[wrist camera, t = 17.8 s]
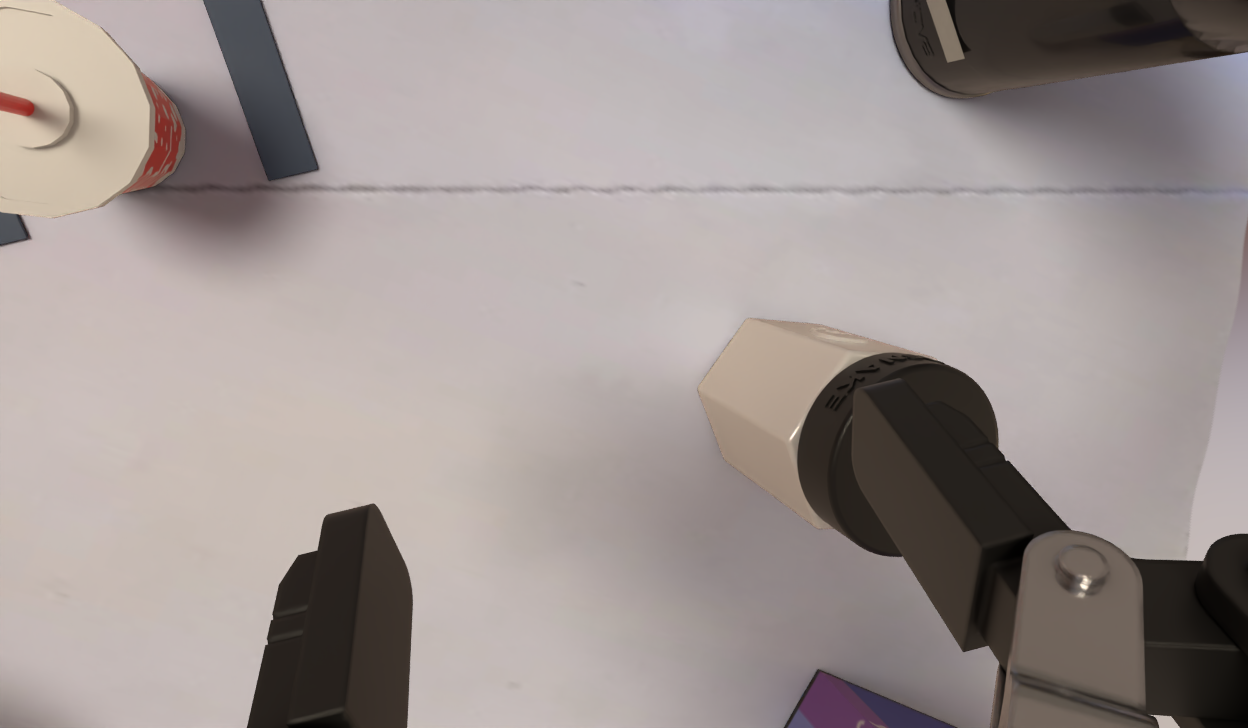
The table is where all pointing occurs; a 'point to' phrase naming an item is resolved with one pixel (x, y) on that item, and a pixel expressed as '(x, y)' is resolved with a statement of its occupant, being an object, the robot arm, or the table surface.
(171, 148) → the beverage cup
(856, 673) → the table surface
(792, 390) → the jar
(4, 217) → the frame
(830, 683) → the cereal box
